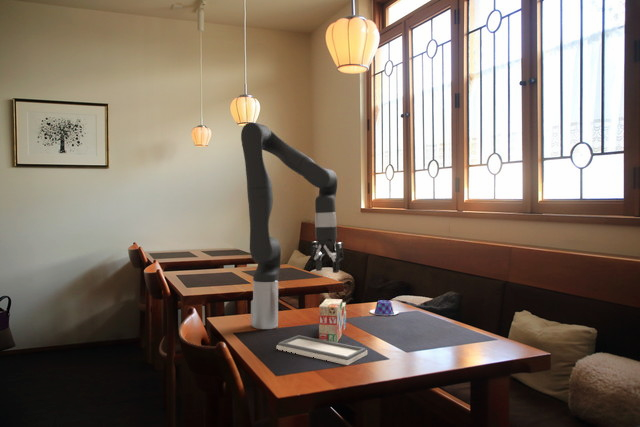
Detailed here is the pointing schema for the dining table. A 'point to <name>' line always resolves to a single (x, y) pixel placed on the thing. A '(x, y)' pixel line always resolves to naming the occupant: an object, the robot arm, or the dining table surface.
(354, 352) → the base board
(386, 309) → the blue checkered hat
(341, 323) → the stack of blocks
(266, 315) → the robot arm
